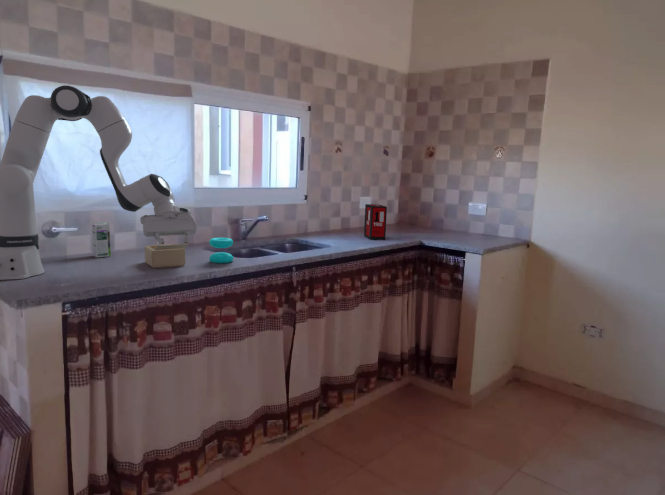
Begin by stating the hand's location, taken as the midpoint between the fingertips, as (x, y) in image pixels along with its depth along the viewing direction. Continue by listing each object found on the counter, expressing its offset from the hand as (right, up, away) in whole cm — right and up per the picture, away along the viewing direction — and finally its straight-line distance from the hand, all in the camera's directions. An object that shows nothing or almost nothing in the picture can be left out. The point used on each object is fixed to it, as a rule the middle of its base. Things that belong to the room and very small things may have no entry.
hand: (174, 242), depth 181 cm
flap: (-4, -2, +7) cm, 8 cm away
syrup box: (-40, -6, +25) cm, 48 cm away
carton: (-9, -9, +14) cm, 18 cm away
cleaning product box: (+86, +4, +109) cm, 139 cm away
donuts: (+13, -8, +23) cm, 27 cm away
